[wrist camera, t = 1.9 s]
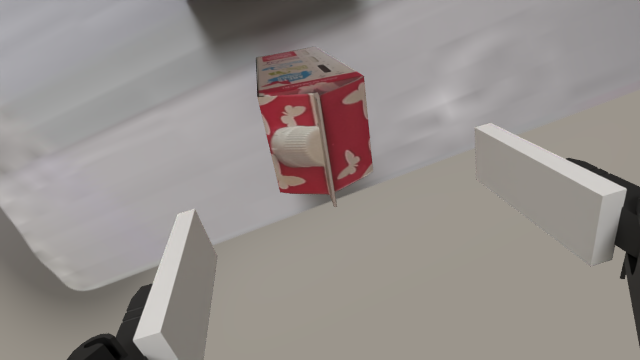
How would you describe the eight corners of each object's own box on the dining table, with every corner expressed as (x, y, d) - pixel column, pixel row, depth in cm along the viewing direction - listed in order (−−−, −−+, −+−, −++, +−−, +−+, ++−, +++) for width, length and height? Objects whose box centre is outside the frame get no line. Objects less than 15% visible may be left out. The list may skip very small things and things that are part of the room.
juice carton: (269, 117, 41) (283, 218, 21) (255, 57, 38) (258, 111, 18) (325, 106, 41) (389, 194, 22) (316, 46, 38) (381, 87, 19)
